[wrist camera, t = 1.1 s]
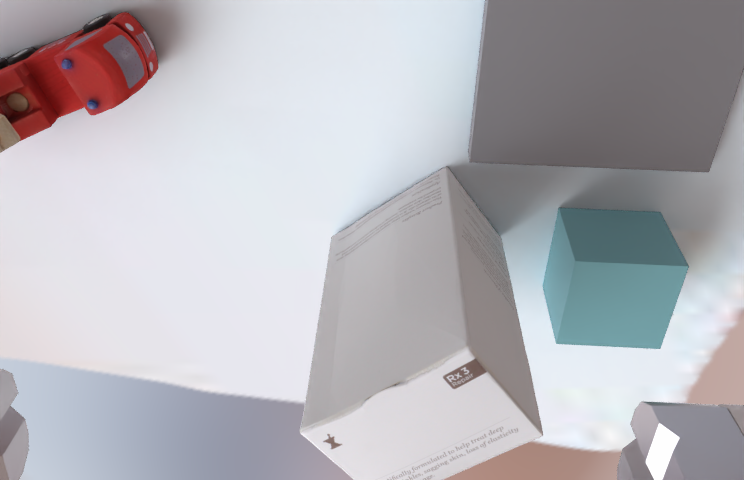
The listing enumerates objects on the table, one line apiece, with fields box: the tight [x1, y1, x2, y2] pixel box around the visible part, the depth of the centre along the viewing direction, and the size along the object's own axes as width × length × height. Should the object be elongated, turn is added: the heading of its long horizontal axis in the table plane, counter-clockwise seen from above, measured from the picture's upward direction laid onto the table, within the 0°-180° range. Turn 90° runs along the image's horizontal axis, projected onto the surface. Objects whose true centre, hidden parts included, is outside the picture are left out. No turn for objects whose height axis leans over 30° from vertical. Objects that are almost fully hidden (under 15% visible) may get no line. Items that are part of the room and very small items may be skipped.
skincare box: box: [300, 167, 543, 480], centre depth 34 cm, size 8×6×15 cm
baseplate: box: [468, 0, 744, 172], centre depth 33 cm, size 12×12×1 cm
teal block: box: [543, 208, 689, 349], centre depth 38 cm, size 6×6×5 cm
